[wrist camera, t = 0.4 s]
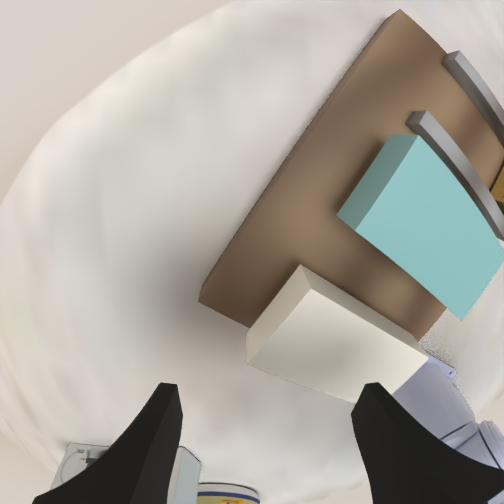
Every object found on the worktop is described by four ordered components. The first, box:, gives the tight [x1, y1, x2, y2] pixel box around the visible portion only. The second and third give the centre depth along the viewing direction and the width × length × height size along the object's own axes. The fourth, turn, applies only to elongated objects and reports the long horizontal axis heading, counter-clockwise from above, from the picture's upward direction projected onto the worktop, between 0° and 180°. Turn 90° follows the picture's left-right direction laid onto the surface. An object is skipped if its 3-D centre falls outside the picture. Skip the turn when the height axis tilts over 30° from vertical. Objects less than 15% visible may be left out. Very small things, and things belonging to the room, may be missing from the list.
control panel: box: [198, 9, 504, 342], centre depth 15 cm, size 16×22×4 cm
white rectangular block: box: [246, 264, 429, 403], centre depth 15 cm, size 10×5×2 cm, turn 57°
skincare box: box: [49, 443, 202, 504], centre depth 20 cm, size 21×6×16 cm, turn 109°
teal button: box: [337, 134, 504, 321], centre depth 12 cm, size 10×5×2 cm, turn 57°
